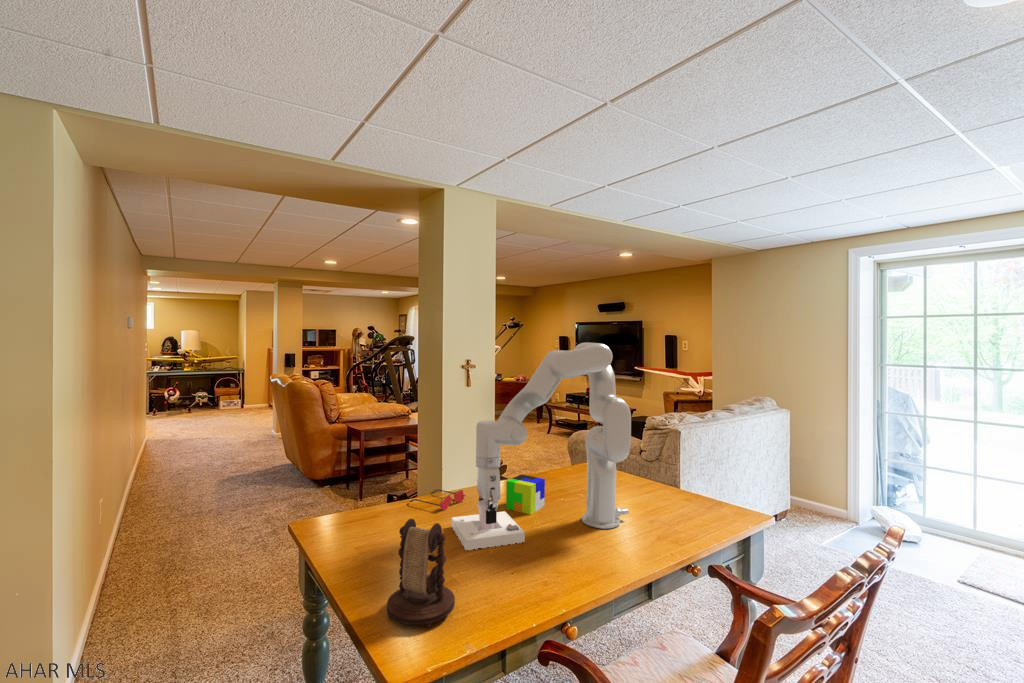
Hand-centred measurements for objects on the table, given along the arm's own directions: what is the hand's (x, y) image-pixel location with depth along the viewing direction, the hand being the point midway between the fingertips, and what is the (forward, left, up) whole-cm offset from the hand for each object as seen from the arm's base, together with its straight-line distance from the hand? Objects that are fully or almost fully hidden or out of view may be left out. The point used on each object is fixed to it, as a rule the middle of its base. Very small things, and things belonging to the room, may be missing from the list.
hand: (487, 518), depth 148 cm
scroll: (+26, +35, -5) cm, 44 cm away
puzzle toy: (-20, -18, -5) cm, 27 cm away
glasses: (+9, -33, -6) cm, 34 cm away
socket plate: (0, 0, -5) cm, 5 cm away
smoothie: (0, 0, -5) cm, 5 cm away
